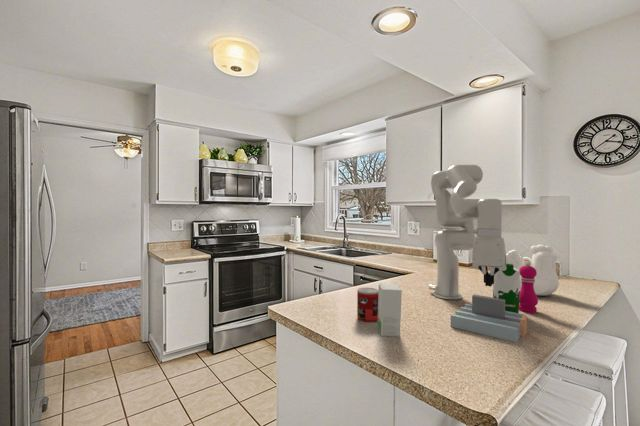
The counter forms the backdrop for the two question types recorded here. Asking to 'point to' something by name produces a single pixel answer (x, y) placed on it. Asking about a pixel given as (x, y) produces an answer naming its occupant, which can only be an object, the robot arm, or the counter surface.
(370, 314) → the canned food
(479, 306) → the panel
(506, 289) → the milk carton
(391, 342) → the counter surface
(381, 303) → the skincare box
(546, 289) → the decorative rooster
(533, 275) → the pepper mill
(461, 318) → the rack
